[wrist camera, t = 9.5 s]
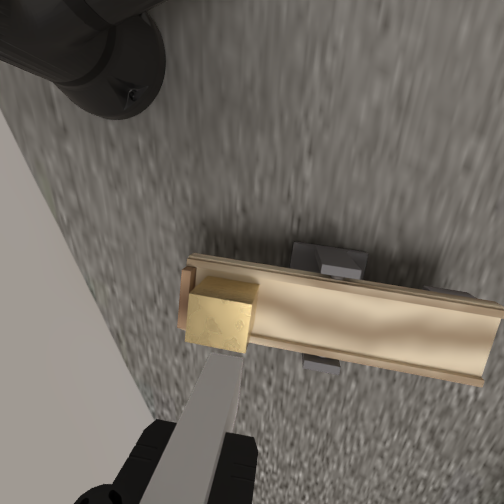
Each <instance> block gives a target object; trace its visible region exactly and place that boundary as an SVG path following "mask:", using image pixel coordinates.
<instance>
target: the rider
mask: <svg viewBox="0 0 504 504" xmlns="http://www.w3.org/2000/svg"><path fill="white" fill-rule="evenodd" d="M259 286H260V284H254V283H248V282H243V281H237V280H231V279H225V278H219V277H213V276H206V277H205V278H204V279H203V280H202V281H201V282H200V283H199V284H198V285H197V286H196V287H195V288H194V289H193V290H192V291H191V292H190V293H189V300H188V312H187V323H186V335H185V342H190V343H195V344H200V345H205V346H210V347H215V348H220V349H226V350H231V351H236V352H241V353H246V349H247V346H248V343H249V340H250V336H251V333H252V330H253V327H254V321H255V314H256V307H257V300H258V293H259Z"/></svg>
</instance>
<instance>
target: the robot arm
mask: <svg viewBox="0 0 504 504" xmlns="http://www.w3.org/2000/svg"><path fill="white" fill-rule="evenodd" d="M166 1H168V0H0V60H1V61H4V62H6V63H9V64H11V65H13V66H16V67H18V68H21V69H23V70H25V71H28V72H30V73H32V74H35V75H37V76H40V77H42V78H44V79H47V80H49V81H52V82H53V83H54V84H55V85H56V86H57V87H58V88H59V89H60V90H61V91H62V92H63V93H64V94H65V95H66V96H68V98H69V99H70V100H71V101H72V102H74V103H75V104H76V105H77V106H79V107H80V108H82V109H83V110H85V111H87V112H89V113H91V114H94V115H96V116H99V117H102V118H105V119H110V120H122V119H127V118H130V117H133V116H135V115H137V114H139V113H141V112H142V111H143V110H145V109H146V108H147V107H148V106H149V105H150V104H151V103H152V101H153V100H154V99H155V97H156V95H157V94H158V92H159V90H160V87H161V85H162V82H163V78H164V73H165V64H166V59H165V49H164V44H163V40H162V37H161V34H160V32H159V30H158V28H157V26H156V24H155V22H154V21H153V19H152V18H151V17H150V15H149V14H148V13H147V12H146V11H147V10H149V9H151V8H153V7H155V6H157V5H160V4H162V3H164V2H166ZM242 366H243V358H242V357H236V356H230V355H224V354H218V353H212V352H210V355H209V357H208V359H207V361H206V363H205V365H204V367H203V369H202V372H201V374H200V376H199V378H198V380H197V382H196V384H195V386H194V389H193V391H192V393H191V395H190V397H189V399H188V401H187V403H186V406H185V408H184V410H183V412H182V414H181V416H180V418H179V420H178V423H174V422H169V421H164V420H159V419H156V420H155V421H154V422H153V423H152V424H150V425H149V426H148V427H147V428H146V429H145V430H144V431H143V433H142V435H141V436H140V438H139V440H138V441H137V443H136V446H134V448H133V450H132V452H131V453H130V455H129V458H127V460H126V462H125V463H124V465H123V467H122V468H121V470H120V472H119V473H118V475H117V477H116V478H115V480H114V482H113V484H103V485H100V486H97V487H94V488H91V489H90V490H88V491H87V492H85V493H84V494H82V495H81V496H80V497H79V498H78V500H76V502H75V503H74V504H252V498H253V490H254V481H255V473H256V465H257V457H258V449H257V446H256V443H255V439H254V437H250V436H245V435H239V434H234V433H232V431H233V427H234V422H235V418H236V414H237V410H238V402H239V393H240V384H241V375H242Z"/></svg>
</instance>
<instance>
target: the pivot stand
mask: <svg viewBox="0 0 504 504" xmlns="http://www.w3.org/2000/svg"><path fill="white" fill-rule="evenodd" d="M367 259H368V253H366V252H362V251H356V250H349V249H342V248H336V247H329V246H322V245H316V244H309V243H303V242H296V241H294V243H293V249H292V255H291V262H290V269H296V270H303V271H309V272H315V273H321V274H327V275H333V276H339V277H345V278H352V279H358V280H363V277H364V273H365V268H366V264H367ZM302 361H303V368H305V369H310V370H315V371H320V372H325V373H331V374H336V375H339V372H340V363H339V360H338V359H332V358H327V357H325V358H323V357H319V356H317V355H312V354H307V353H302Z"/></svg>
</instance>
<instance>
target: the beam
mask: <svg viewBox="0 0 504 504" xmlns="http://www.w3.org/2000/svg"><path fill="white" fill-rule="evenodd" d="M206 276H213V277H219V278H225V279H231V280H237V281H243V282H248V283H254V284H260V286H259V293H258V300H257V307H256V314H255V321H254V327H253V330H252V333H251V336H250V340H249V343H255V344H260V345H265V346H270V347H275V348H281V349H286V350H291V351H296V352H301V353H307V354H312V355H317V356H319V357H323V358H325V357H327V358H332V359H338V360H343V361H348V362H353V363H358V364H364V365H369V366H374V367H379V368H384V369H390V370H395V371H400V372H405V373H410V374H416V375H421V376H426V377H431V378H436V379H442V380H447V381H452V382H457V383H462V384H468V385H473V386H478V387H483V384H484V380H483V379H482V378H481V376H482V373H483V370H484V367H485V364H486V361H487V358H488V356H489V353H490V350H491V347H492V344H493V341H494V338H495V335H496V332H497V329H498V326H499V323H500V320H501V318H502V319H504V307H503V306H502V305H500V304H498V303H496V302H494V301H488V300H482V299H477V298H475V297H474V296H472V295H471V294H469V293H467V292H461V291H455V290H448V289H442V288H436V287H430V286H424V285H423V288H422V290H420V289H414V288H408V287H402V286H395V285H389V284H383V283H377V282H371V281H364V280H358V279H352V278H345V277H339V276H333V275H327V274H321V273H315V272H309V271H303V270H296V269H290V268H284V267H278V266H272V265H266V264H259V263H253V262H247V261H241V260H235V259H229V258H222V257H216V256H210V255H204V254H198V253H193V254H191V255H190V256H189V258H188V259H187V267H185V268H184V269H182V275H181V288H180V300H179V313H178V325H177V328H181V329H182V330H186V323H187V312H188V300H189V293H190V292H191V291H192V290H193V289H194V288H195V287H196V286H197V285H198V284H199V283H200V282H201V281H202V280H203V279H204V278H205V277H206Z"/></svg>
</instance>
